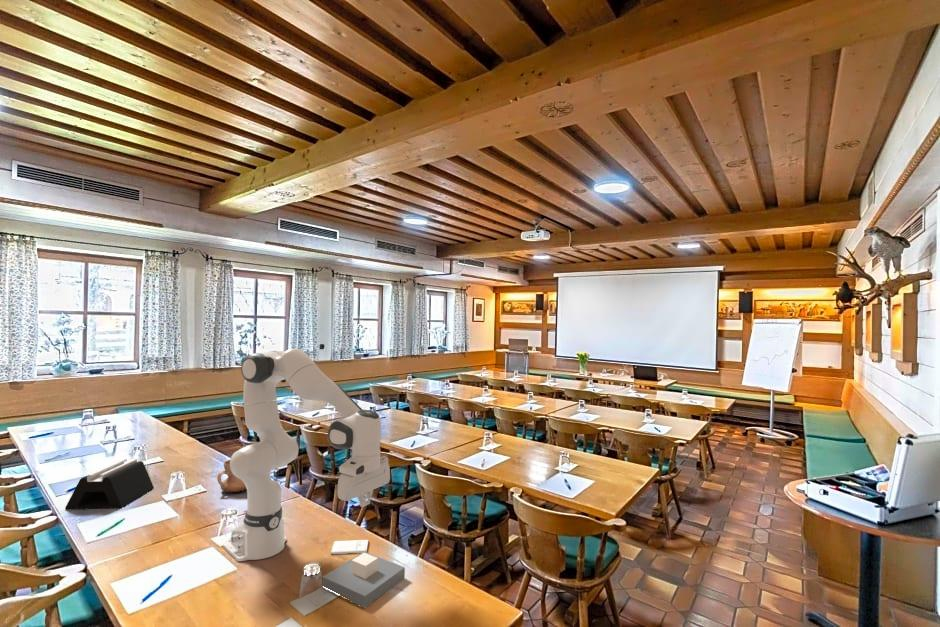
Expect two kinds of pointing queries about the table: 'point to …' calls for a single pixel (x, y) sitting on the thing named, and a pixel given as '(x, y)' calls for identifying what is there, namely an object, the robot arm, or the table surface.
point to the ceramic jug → (230, 480)
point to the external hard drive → (349, 546)
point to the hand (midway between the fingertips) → (364, 505)
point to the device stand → (111, 486)
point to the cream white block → (364, 565)
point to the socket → (364, 581)
